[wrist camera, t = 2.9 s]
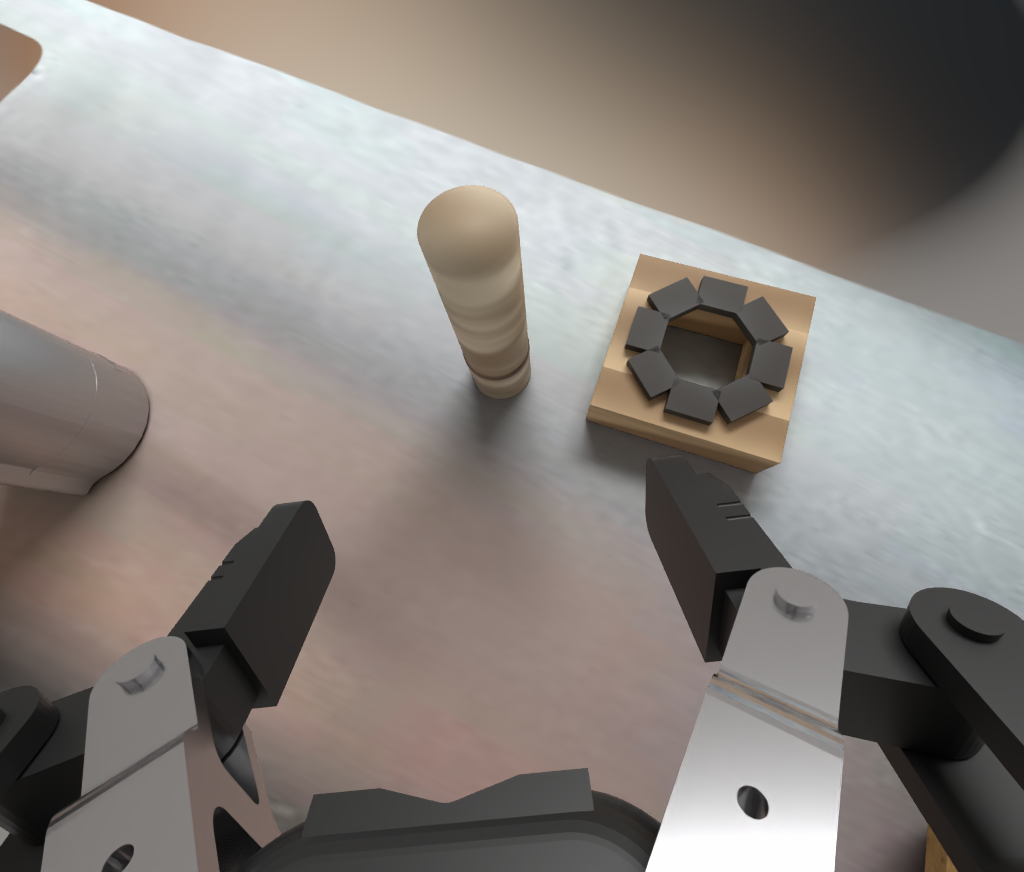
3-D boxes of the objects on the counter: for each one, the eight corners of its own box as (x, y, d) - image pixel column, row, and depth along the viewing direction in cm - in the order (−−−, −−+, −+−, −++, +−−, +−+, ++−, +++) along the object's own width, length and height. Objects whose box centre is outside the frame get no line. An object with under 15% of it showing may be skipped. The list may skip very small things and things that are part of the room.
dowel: (519, 407, 30) (497, 283, 17) (463, 389, 31) (399, 256, 17) (539, 354, 31) (533, 197, 18) (484, 338, 32) (439, 174, 18)
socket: (756, 473, 28) (785, 460, 24) (585, 419, 30) (591, 400, 26) (790, 322, 30) (821, 291, 27) (631, 281, 32) (642, 247, 29)
